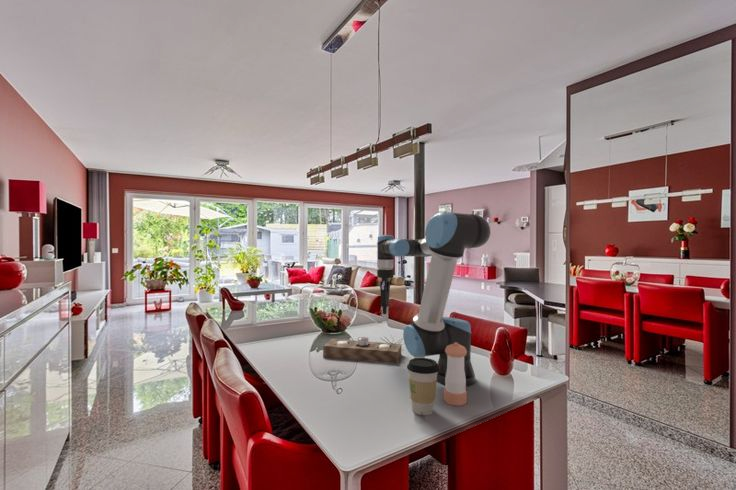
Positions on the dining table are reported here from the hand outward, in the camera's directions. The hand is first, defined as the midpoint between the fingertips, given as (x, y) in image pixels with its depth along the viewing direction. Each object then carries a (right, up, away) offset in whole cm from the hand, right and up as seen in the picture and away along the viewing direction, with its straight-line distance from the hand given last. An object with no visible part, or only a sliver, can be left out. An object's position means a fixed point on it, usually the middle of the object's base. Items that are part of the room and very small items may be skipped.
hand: (384, 320), depth 163 cm
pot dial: (-10, -14, +2) cm, 17 cm away
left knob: (-20, -16, +5) cm, 26 cm away
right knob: (0, -16, 0) cm, 16 cm away
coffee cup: (+9, -17, -52) cm, 56 cm away
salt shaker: (+21, -17, -45) cm, 52 cm away
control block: (-10, -17, +2) cm, 20 cm away
